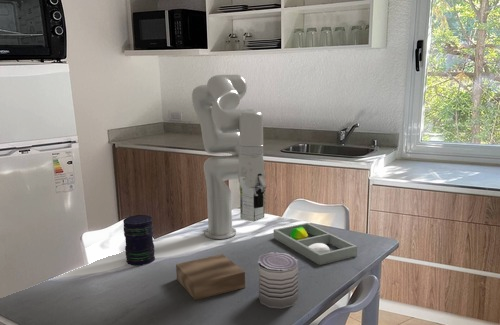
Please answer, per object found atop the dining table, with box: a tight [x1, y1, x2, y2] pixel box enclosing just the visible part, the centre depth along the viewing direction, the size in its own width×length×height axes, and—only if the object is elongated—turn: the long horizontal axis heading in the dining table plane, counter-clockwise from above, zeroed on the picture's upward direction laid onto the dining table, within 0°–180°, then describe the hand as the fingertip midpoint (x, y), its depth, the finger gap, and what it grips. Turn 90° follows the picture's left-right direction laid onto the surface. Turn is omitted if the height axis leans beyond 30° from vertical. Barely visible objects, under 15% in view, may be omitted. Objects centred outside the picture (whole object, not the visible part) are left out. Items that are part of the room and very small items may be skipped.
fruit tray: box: [273, 222, 358, 266], centre depth 169 cm, size 30×16×4 cm, turn 28°
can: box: [257, 251, 299, 310], centre depth 130 cm, size 11×11×12 cm
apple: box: [289, 227, 309, 240], centre depth 172 cm, size 7×6×9 cm
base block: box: [175, 253, 246, 301], centre depth 141 cm, size 16×16×5 cm
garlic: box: [308, 243, 331, 254], centre depth 162 cm, size 8×7×4 cm
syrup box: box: [239, 176, 265, 223], centre depth 148 cm, size 6×6×14 cm
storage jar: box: [122, 214, 156, 267], centre depth 159 cm, size 10×10×15 cm
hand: (252, 204), depth 149 cm, fingers closed on syrup box, 7 cm apart
